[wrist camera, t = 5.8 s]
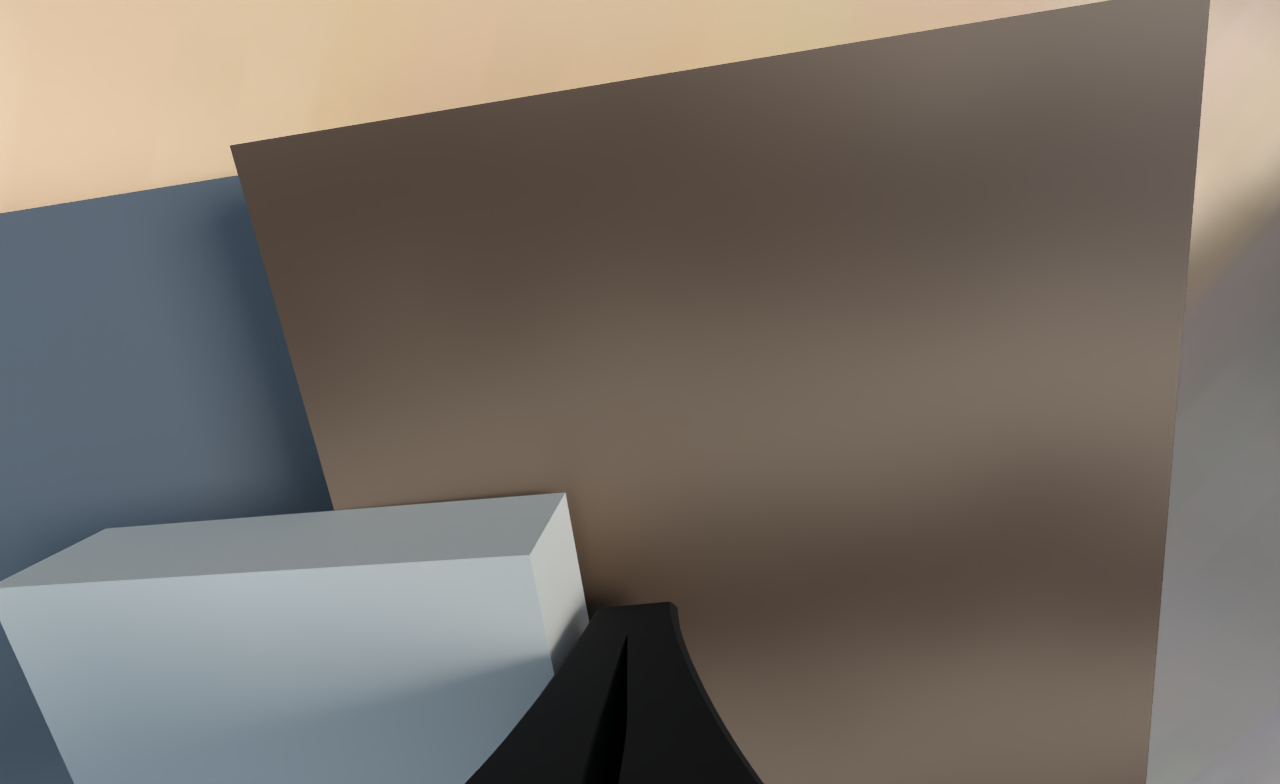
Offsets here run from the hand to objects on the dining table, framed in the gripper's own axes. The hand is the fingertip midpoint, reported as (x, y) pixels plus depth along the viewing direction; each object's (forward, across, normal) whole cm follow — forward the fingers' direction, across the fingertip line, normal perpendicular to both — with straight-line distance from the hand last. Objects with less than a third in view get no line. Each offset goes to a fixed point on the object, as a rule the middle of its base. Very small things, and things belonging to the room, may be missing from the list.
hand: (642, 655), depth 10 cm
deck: (+4, -2, 0) cm, 4 cm away
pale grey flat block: (+1, +5, 0) cm, 5 cm away
